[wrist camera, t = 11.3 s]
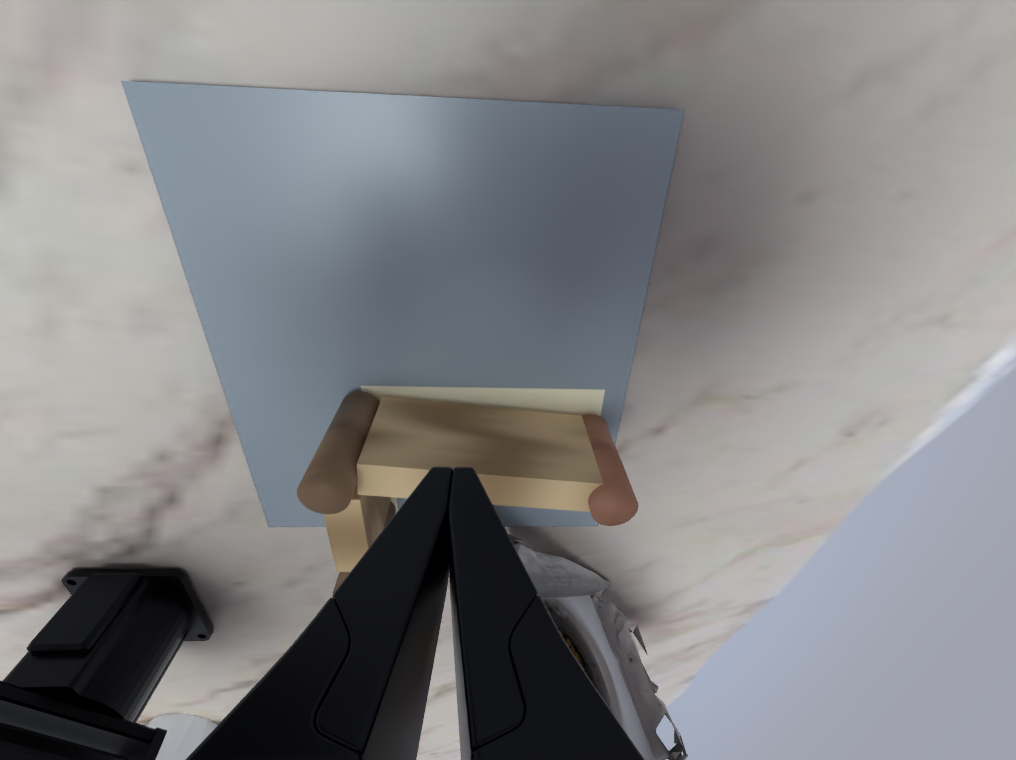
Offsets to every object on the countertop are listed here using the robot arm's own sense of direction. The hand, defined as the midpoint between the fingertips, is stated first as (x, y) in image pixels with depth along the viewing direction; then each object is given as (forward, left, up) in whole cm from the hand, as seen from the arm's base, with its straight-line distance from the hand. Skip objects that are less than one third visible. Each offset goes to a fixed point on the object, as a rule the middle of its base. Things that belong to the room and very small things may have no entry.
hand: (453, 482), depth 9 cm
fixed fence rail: (-9, +5, -10) cm, 15 cm away
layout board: (-3, +2, -11) cm, 11 cm away
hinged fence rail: (-6, 0, -10) cm, 11 cm away
